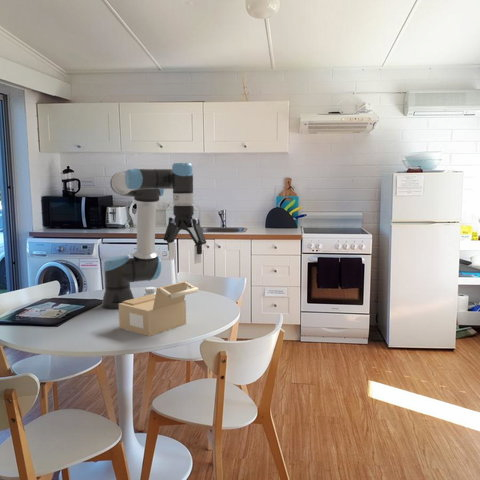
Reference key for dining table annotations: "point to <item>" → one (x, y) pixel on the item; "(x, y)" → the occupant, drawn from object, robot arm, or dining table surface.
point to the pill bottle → (150, 290)
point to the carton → (150, 316)
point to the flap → (172, 294)
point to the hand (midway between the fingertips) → (184, 261)
